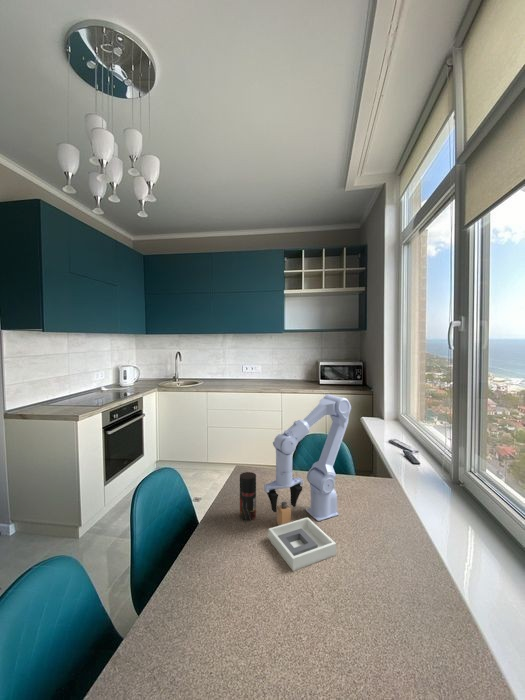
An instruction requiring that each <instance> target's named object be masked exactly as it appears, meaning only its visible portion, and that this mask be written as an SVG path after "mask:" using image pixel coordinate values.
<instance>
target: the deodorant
mask: <svg viewBox="0 0 525 700" xmlns="http://www.w3.org/2000/svg"><path fill="white" fill-rule="evenodd" d="M256 518H257V474H256V473H254V472H253V471H252V472H251V471H244V472H242V473H240V474H239V519H240V520H242V521H245V522H249V521H253V520H255V519H256Z"/></svg>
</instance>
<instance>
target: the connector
mask: <svg viewBox="0 0 525 700" xmlns="http://www.w3.org/2000/svg"><path fill="white" fill-rule="evenodd" d="M276 513H277V514H276V515H277V516H276V523H277V524H278V526H280V525H283V524H286V523H290V522H292V508H291V507H290V506H289V505H288V502H286V501H281V504H280V505H277V511H276Z"/></svg>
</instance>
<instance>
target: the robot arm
mask: <svg viewBox="0 0 525 700" xmlns="http://www.w3.org/2000/svg"><path fill="white" fill-rule="evenodd" d="M351 410H352V406H351V403H350V401H349V400H348V398H346V397H340V396H335V395H333V394H329V393H328V394H325V395H324V396H323V397H322V398H321V399H320V400H319V403H318V404H317V405H316V406H315V407H314V408H313V409H312V410H311V411H310V412H309V413H308V415H306V417H305V418H304V419H302V420H301V419H299V420H295V421H294V422H293V424H291V426H290V427H288V428H287V429H285V430H284V431H283V433H279V434H277V435H276V436H275V438H274V440H273V441H272V446H273V447H274V448H275V479H274V481H271V482H269V483H267V484H264V487H263V491H264V492H265V493H266V494H267V497H268V499H269V502H270V506H271V510H272V511H273V512H274V513H277V506H278V504H277V503H278V499H279V498H278V497H279V494H278V493H277V490H281V489H289V492H290V505H291V506H292V507H293V508H296V507H297V501H298V498H299V496H300V494H301V493H302V491H303V486H302V485H304V479H303V478H302V477H301V476H299V477H293V453H294V452H295V451H296V448H297V446H298V444H299V442H301V441H302V439H304V438H305V437H306V436H307V435H308V434H309V433H310V428H311V427H312V426H313V425H315V424H317V422H319V421H320V420H321V419H322V418H324V417H325V416H329V417H330V418H331V421H332V422H331V425H330V428H329V431H328V434H327V437H326V439H325V443H324V445H323V447H322V451H321V454H320V457H319V459H318V460H317V461H316V462H314V463H312V466H311V468H310V469H309V470H308V471H307V474H306V480H307V482H308V483H309V487H310V507H308V508H305V512H307V513H308V514H309V515H310V516H312V518H313V519H314V520H316V521H317V522H320V521H323V520H327V519H330V518H333V517H337V516H339V512H338V495H337V492H336V489H335V485H336V484H335V483H336V476H337V474H336V472H335V469H334V466H335V461H336V459H337V457H338V453H339V450H340V448H341V444H342V442H343V439H344V436H345V433H346V430H347V428H348V425H349V419H350V413H351Z"/></svg>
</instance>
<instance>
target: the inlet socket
mask: <svg viewBox="0 0 525 700" xmlns="http://www.w3.org/2000/svg"><path fill="white" fill-rule="evenodd" d="M278 537H279V538H280V540H281V541H282V542H283V543H284V545H285V546H286V547H287V548H288V549H289V551H290V552H291V553H292V554H293V555H294V556H296V555H298V554H301V553H304V552H307V551H310V550H313V549H315V548H318V545H317V544H316V543H315V542H314V541H313V540H312V539H311V538H310V537H309V536H308V535H307V534H306V533H305V531H304V530H303V529H302V528H301V529H298V530H295V531H291V532H288V533H285V534H282V535H278ZM299 539H300V540H301V541H302V543H303V544H304V545H301V546H298V547H296V548H294V547H293V546H292V545H291V544H290V542H293V541H296V540H299Z"/></svg>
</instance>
